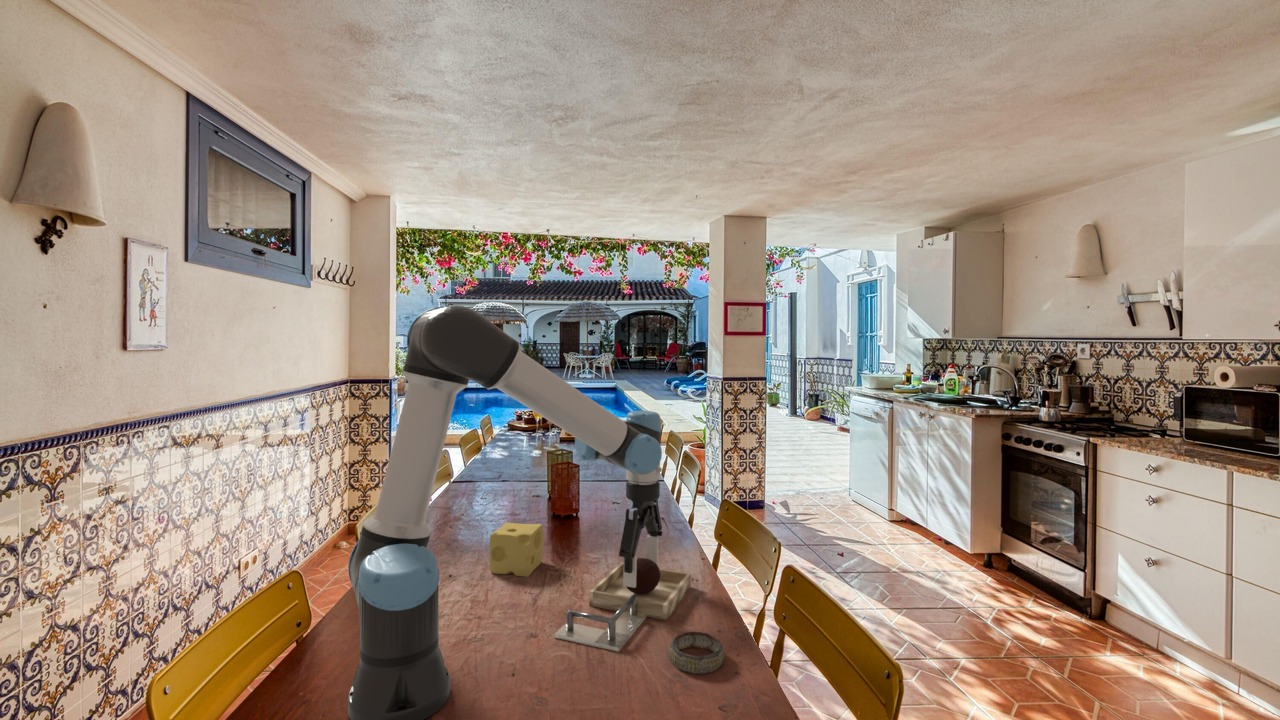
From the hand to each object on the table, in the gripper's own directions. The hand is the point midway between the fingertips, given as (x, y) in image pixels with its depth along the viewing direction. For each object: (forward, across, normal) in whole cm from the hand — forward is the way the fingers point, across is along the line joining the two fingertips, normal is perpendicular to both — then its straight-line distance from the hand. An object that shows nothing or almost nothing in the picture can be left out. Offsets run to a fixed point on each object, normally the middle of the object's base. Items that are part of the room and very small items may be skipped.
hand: (641, 574), depth 133 cm
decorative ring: (+5, -20, -19) cm, 28 cm away
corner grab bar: (+5, -15, +2) cm, 16 cm away
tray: (+5, 0, 0) cm, 5 cm away
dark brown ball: (+4, 0, 0) cm, 4 cm away
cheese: (+5, +3, +35) cm, 35 cm away
